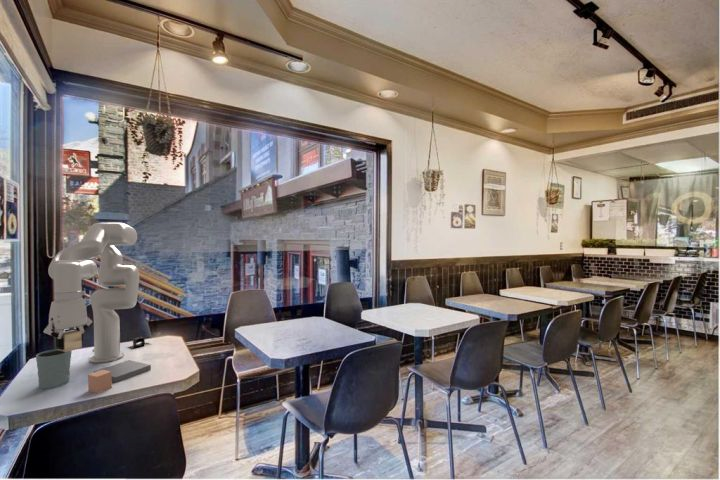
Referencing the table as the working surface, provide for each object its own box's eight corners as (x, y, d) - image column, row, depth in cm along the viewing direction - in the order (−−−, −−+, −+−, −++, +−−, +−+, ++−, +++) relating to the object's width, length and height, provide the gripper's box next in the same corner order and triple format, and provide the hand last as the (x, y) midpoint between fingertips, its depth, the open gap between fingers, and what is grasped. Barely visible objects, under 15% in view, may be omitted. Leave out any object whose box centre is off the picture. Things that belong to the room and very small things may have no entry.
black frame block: (129, 351, 171) (128, 342, 171) (121, 349, 175) (121, 340, 175) (155, 344, 182) (155, 335, 182) (147, 342, 186) (147, 333, 186)
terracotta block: (88, 391, 127) (88, 374, 127) (103, 385, 131) (103, 369, 131) (96, 393, 125) (96, 376, 125) (111, 387, 129) (111, 371, 129)
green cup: (30, 391, 127) (29, 358, 127) (46, 380, 136) (45, 349, 136) (63, 387, 130) (63, 355, 129) (77, 377, 139) (76, 346, 139)
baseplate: (93, 376, 140) (93, 371, 140) (129, 364, 152) (129, 360, 152) (115, 382, 134) (115, 377, 134) (150, 369, 147) (150, 364, 147)
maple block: (57, 350, 126) (57, 333, 126) (73, 345, 131) (73, 329, 130) (65, 352, 124) (65, 335, 124) (81, 347, 129) (81, 331, 128)
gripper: (88, 291, 136) (89, 338, 137) (33, 299, 121) (34, 352, 121) (100, 293, 133) (101, 341, 134) (45, 301, 117) (46, 355, 118)
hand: (69, 346), depth 127 cm, fingers closed on maple block, 4 cm apart
